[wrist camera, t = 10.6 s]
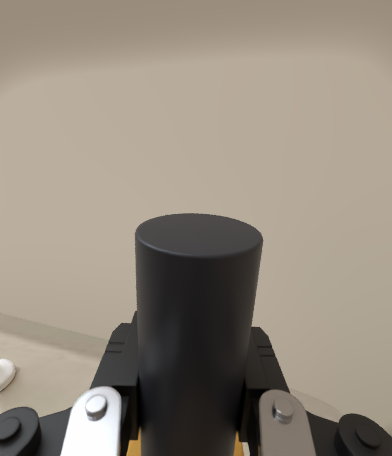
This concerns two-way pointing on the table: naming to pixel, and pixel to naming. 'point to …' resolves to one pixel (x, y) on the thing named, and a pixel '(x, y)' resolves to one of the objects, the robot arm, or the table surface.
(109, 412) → the robot arm
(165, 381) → the dish sponge
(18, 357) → the table surface
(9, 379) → the chess piece
